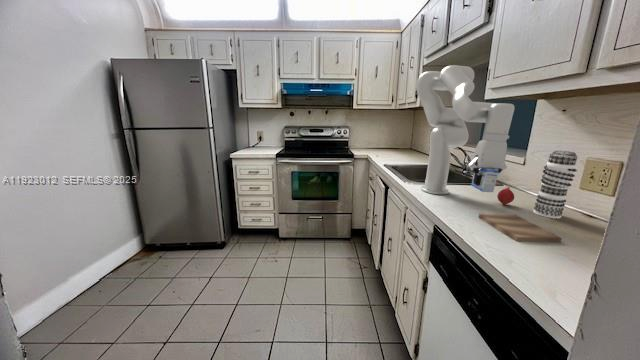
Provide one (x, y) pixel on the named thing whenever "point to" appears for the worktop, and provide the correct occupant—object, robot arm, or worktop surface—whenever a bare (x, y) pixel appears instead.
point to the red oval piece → (505, 196)
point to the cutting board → (519, 228)
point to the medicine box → (487, 180)
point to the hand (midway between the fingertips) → (483, 184)
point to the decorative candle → (555, 184)
